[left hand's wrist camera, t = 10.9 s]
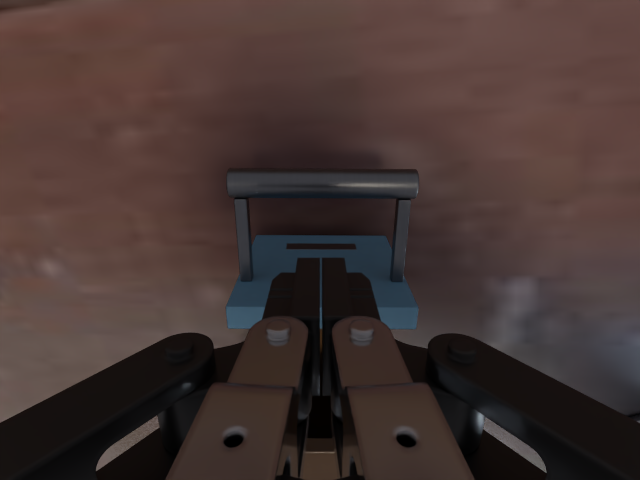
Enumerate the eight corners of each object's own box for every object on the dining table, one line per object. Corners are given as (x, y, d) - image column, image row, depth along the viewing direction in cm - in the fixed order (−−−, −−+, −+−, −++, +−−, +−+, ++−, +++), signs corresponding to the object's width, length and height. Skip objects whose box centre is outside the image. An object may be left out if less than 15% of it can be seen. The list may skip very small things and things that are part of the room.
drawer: (250, 148, 24) (213, 181, 15) (392, 149, 24) (433, 183, 15) (268, 434, 33) (250, 556, 24) (370, 434, 33) (388, 556, 24)
